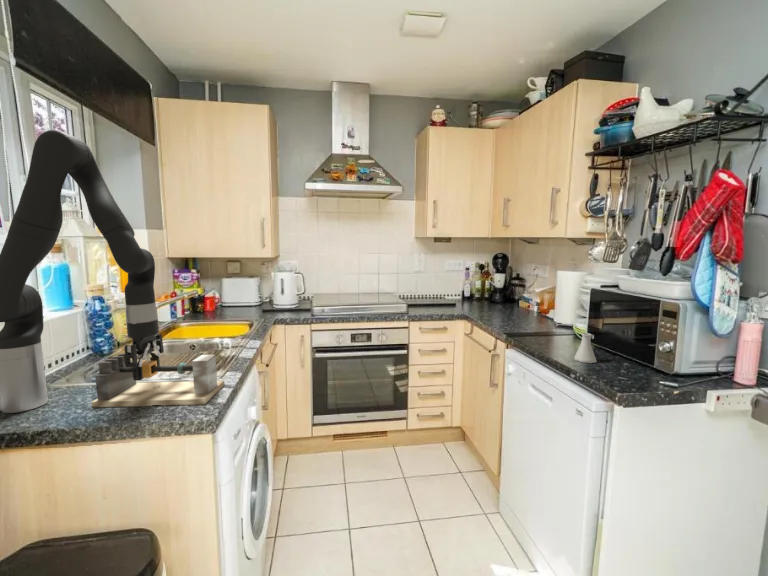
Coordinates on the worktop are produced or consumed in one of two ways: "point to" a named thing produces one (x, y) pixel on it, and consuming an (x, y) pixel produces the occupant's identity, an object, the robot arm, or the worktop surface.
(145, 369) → the sleeve
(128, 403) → the cord board
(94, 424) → the worktop surface
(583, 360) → the flask
